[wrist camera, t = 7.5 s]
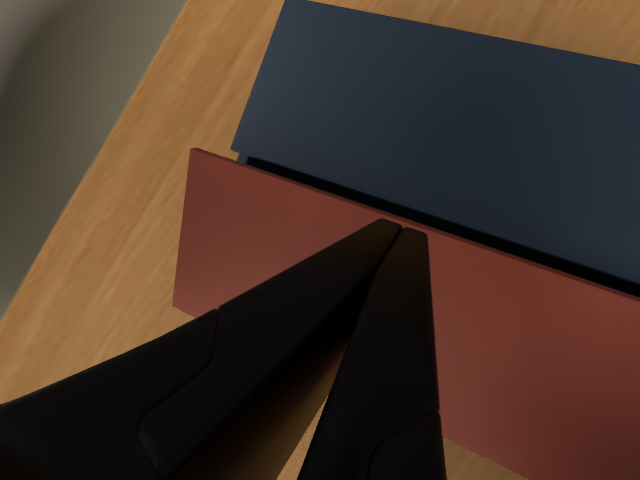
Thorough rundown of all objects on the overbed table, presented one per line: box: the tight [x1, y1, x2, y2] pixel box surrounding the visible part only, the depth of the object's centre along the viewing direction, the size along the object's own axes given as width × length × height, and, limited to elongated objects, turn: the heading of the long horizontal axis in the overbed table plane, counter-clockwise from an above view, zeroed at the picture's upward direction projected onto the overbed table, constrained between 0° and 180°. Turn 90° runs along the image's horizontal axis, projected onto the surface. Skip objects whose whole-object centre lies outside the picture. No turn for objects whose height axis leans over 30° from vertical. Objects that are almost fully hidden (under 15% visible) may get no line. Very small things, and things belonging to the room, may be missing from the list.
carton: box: [231, 0, 640, 298], centre depth 16 cm, size 11×14×8 cm
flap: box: [172, 148, 640, 480], centre depth 11 cm, size 5×14×1 cm, turn 69°
